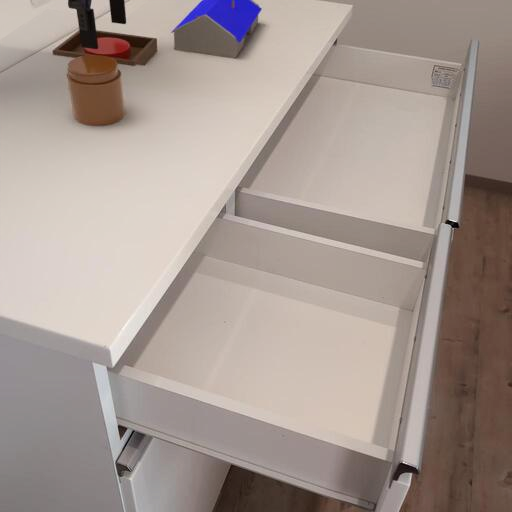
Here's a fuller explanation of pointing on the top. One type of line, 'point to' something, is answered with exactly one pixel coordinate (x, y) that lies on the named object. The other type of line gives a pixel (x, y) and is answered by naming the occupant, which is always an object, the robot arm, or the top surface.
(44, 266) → the top surface
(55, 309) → the top surface
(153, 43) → the tray
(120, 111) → the jar
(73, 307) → the top surface
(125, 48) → the cap
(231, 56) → the toy house
